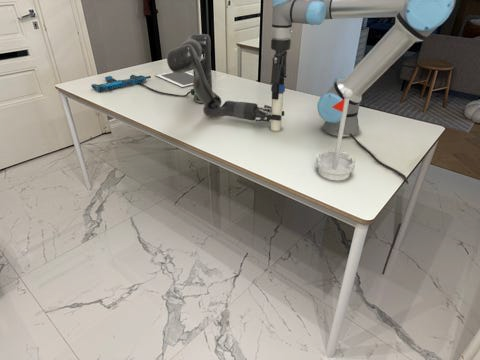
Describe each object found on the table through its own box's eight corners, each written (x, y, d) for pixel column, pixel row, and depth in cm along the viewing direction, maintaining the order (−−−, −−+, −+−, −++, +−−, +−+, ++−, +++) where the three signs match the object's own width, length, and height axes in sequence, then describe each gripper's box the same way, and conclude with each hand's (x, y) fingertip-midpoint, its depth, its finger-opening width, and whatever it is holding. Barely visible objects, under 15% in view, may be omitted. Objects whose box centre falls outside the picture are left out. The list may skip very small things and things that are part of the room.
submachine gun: (137, 69, 223) (155, 75, 206) (138, 75, 225) (156, 81, 208) (84, 79, 204) (99, 87, 188) (85, 85, 206) (101, 94, 190)
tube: (281, 130, 150) (284, 89, 140) (271, 131, 150) (273, 89, 140) (279, 126, 154) (282, 86, 144) (269, 126, 154) (271, 86, 143)
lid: (284, 89, 145) (284, 84, 143) (285, 93, 140) (285, 88, 139) (270, 89, 145) (271, 84, 144) (271, 93, 140) (271, 88, 139)
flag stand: (338, 160, 128) (352, 80, 111) (360, 177, 117) (380, 93, 101) (308, 166, 124) (318, 85, 107) (328, 185, 113) (343, 98, 97)
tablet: (155, 75, 221) (155, 75, 220) (182, 70, 232) (182, 69, 231) (182, 87, 200) (182, 86, 200) (210, 80, 211) (209, 80, 211)
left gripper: (240, 108, 145) (278, 113, 140) (251, 97, 156) (287, 102, 151) (240, 124, 149) (277, 130, 144) (250, 113, 160) (285, 117, 155)
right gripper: (284, 44, 122) (280, 105, 134) (296, 34, 138) (291, 89, 150) (264, 42, 124) (262, 102, 137) (278, 33, 140) (275, 87, 153)
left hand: (282, 115), depth 147 cm, fingers closed on tube, 4 cm apart
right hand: (277, 95), depth 143 cm, fingers open, 7 cm apart
